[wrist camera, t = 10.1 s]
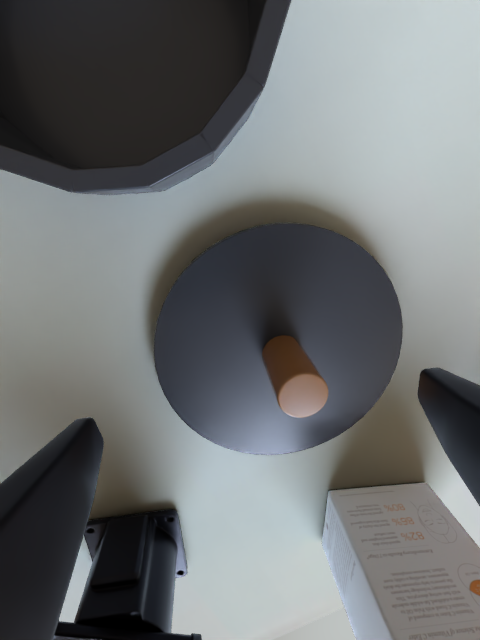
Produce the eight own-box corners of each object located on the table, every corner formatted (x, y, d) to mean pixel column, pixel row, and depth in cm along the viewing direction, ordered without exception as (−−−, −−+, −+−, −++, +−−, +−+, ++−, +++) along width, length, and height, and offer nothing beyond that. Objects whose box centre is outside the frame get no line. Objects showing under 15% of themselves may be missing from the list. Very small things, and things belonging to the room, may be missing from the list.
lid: (383, 429, 23) (435, 496, 18) (174, 456, 22) (165, 534, 17) (404, 212, 18) (483, 216, 13) (136, 233, 17) (106, 247, 12)
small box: (319, 541, 27) (387, 742, 17) (326, 487, 25) (407, 677, 15) (414, 533, 27) (533, 720, 18) (428, 479, 26) (569, 656, 16)
